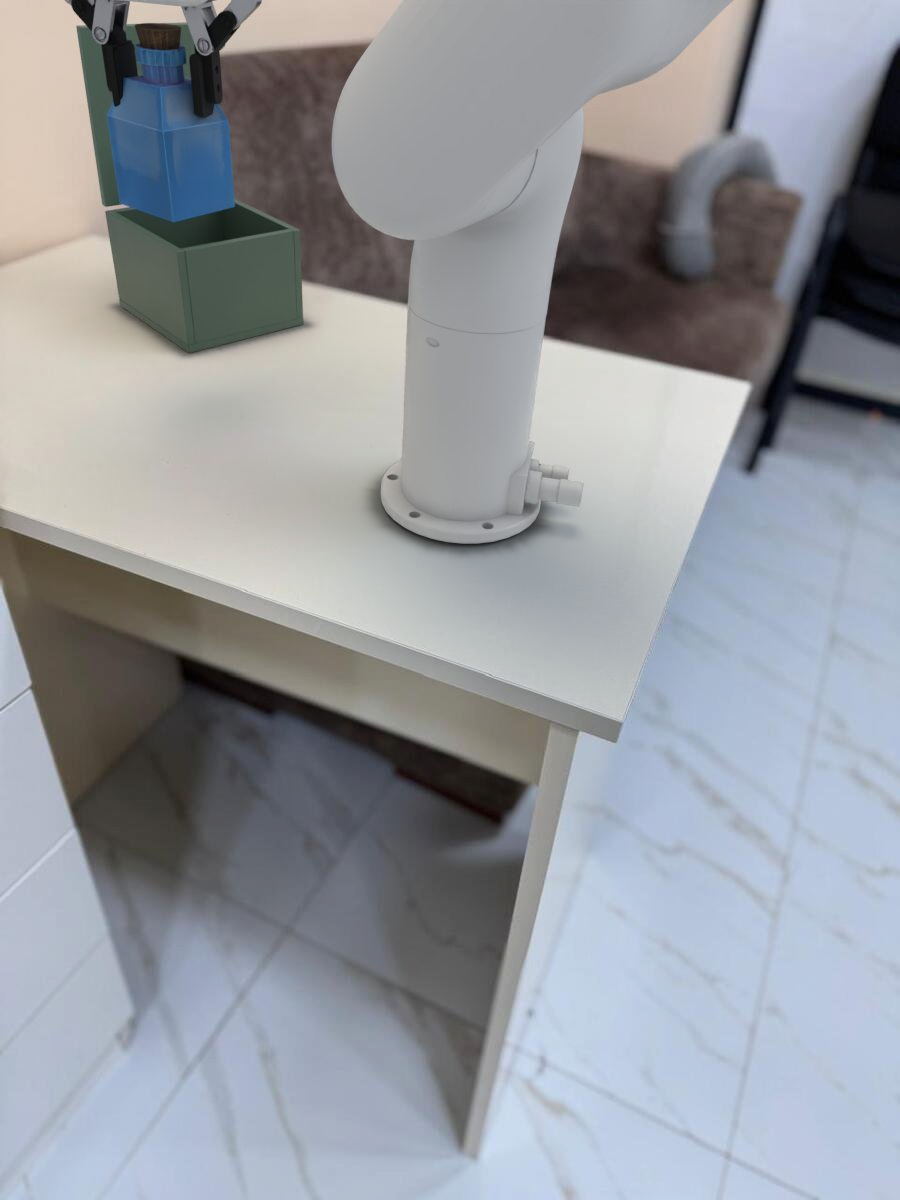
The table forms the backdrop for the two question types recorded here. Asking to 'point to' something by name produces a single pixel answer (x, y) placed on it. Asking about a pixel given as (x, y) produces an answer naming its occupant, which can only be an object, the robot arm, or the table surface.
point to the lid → (102, 101)
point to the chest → (208, 274)
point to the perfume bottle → (168, 136)
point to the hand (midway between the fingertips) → (167, 106)
